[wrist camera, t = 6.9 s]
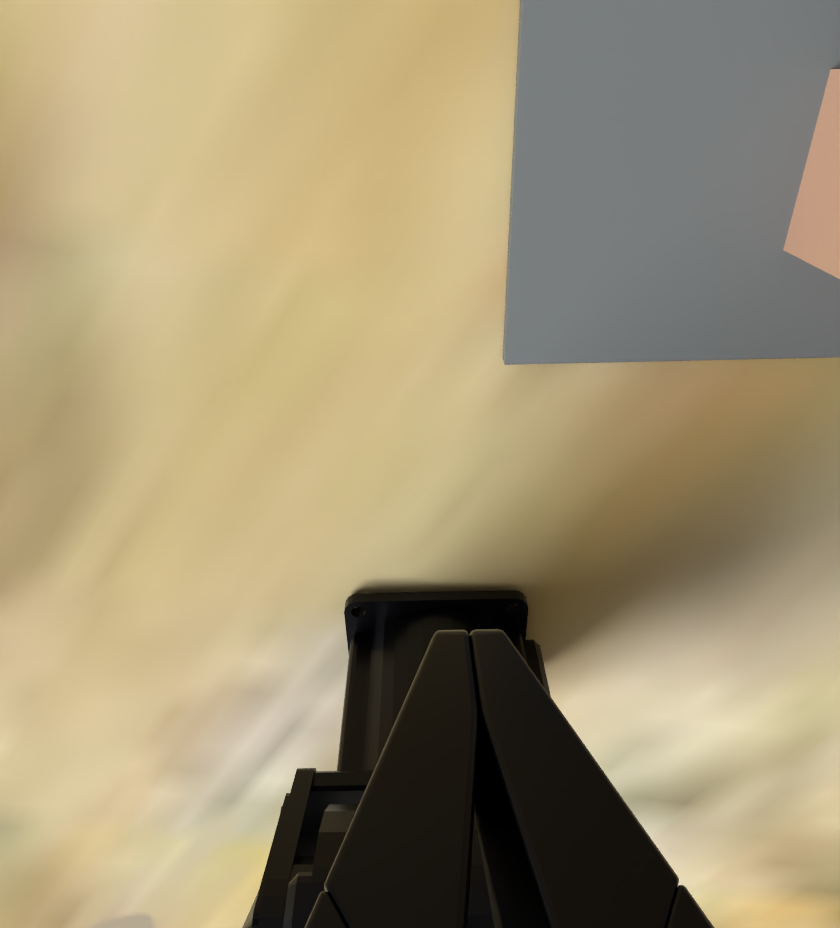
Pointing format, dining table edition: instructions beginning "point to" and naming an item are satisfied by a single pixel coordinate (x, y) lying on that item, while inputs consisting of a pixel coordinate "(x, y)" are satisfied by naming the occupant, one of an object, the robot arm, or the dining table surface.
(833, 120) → the terracotta block
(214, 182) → the dining table surface
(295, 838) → the robot arm
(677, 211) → the slate mat
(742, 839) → the dining table surface
